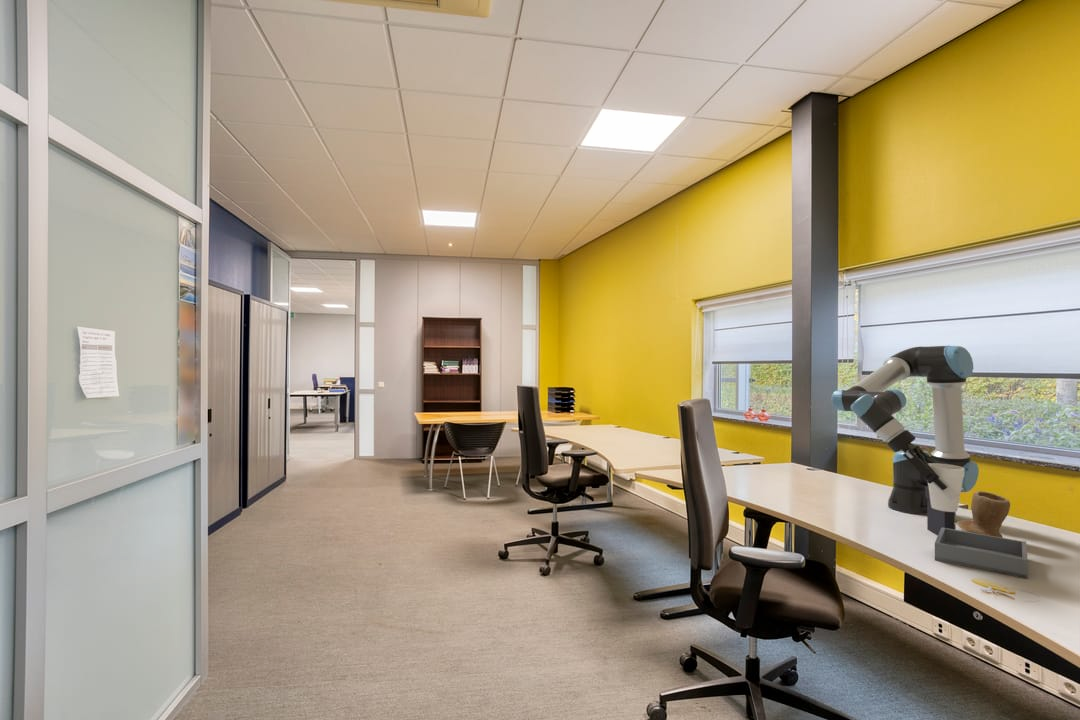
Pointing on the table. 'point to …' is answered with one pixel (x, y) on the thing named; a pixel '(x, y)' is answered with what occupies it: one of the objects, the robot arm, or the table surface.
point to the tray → (982, 552)
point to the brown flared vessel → (986, 514)
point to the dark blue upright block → (938, 517)
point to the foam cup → (954, 479)
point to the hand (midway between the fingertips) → (957, 494)
